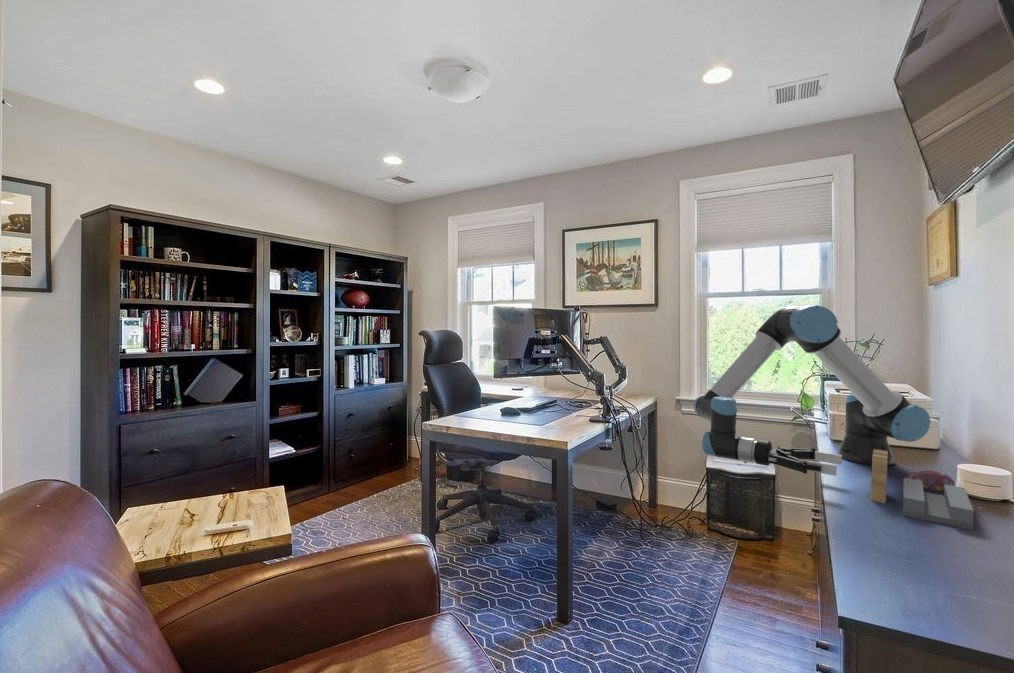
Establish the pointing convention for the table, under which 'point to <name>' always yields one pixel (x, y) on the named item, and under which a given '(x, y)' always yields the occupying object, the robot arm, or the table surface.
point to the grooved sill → (937, 505)
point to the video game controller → (932, 479)
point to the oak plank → (879, 476)
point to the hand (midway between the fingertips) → (839, 465)
